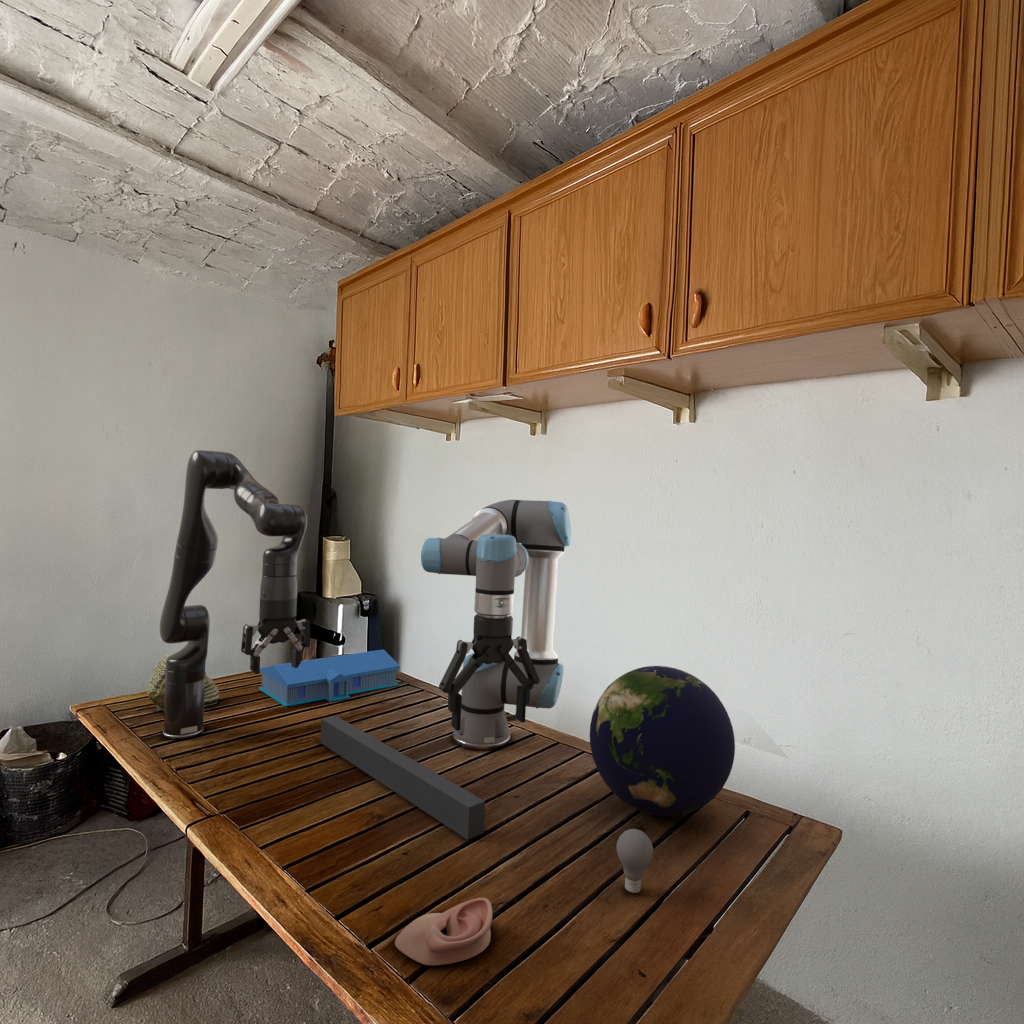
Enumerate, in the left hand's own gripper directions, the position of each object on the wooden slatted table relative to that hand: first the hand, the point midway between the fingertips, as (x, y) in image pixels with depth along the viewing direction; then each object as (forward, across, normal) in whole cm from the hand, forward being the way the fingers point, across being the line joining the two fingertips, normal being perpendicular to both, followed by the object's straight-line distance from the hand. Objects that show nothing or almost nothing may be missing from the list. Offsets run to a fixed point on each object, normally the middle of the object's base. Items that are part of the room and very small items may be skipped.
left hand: (275, 670), depth 137 cm
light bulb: (+25, -32, +73) cm, 83 cm away
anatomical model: (+25, 0, +63) cm, 68 cm away
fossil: (+26, 0, -64) cm, 69 cm away
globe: (+25, -60, +59) cm, 87 cm away
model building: (+26, -42, -56) cm, 75 cm away
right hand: (+4, -24, +43) cm, 50 cm away
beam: (+25, -22, +14) cm, 36 cm away
